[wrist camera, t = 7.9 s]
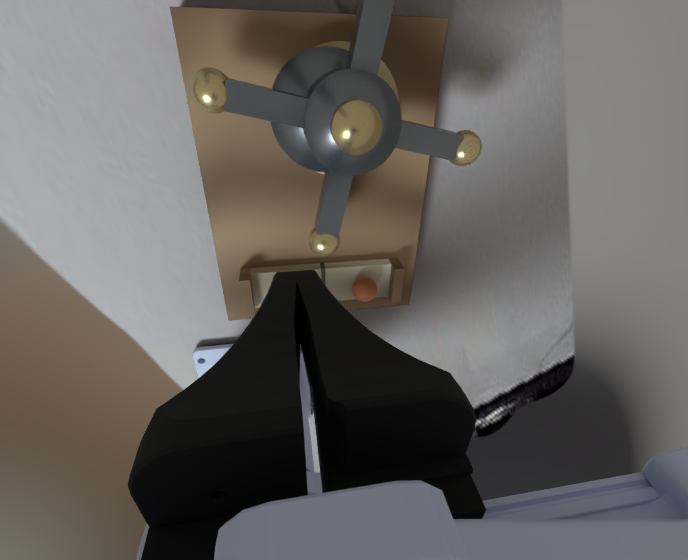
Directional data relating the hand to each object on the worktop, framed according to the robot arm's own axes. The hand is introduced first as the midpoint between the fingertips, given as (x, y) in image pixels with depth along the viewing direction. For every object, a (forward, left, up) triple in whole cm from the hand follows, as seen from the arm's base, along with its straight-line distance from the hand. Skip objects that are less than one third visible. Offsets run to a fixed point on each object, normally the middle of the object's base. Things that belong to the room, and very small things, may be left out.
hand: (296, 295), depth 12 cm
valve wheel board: (+1, -2, -10) cm, 11 cm away
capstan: (+5, -3, -8) cm, 10 cm away
